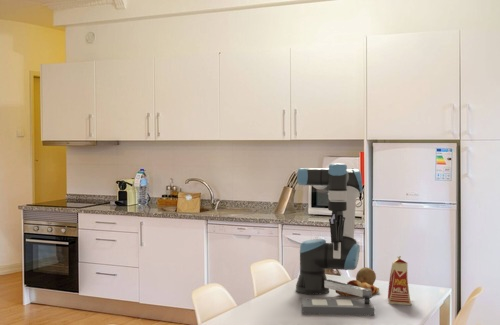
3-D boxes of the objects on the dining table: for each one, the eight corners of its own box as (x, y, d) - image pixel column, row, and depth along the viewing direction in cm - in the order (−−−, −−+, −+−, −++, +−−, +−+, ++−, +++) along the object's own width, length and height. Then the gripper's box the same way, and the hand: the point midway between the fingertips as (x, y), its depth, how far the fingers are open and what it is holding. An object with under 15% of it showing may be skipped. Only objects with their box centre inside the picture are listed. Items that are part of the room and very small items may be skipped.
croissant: (375, 299, 257) (372, 282, 260) (385, 293, 248) (381, 276, 252) (332, 301, 251) (329, 283, 254) (341, 296, 242) (338, 277, 246)
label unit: (301, 305, 233) (301, 293, 233) (369, 306, 232) (369, 294, 232) (302, 314, 221) (302, 301, 221) (374, 315, 220) (374, 302, 220)
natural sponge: (364, 292, 255) (364, 270, 255) (351, 287, 263) (352, 266, 263) (379, 289, 260) (379, 268, 260) (366, 285, 268) (367, 264, 267)
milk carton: (411, 305, 235) (411, 257, 234) (388, 303, 236) (388, 256, 236) (409, 299, 244) (410, 253, 243) (387, 298, 245) (388, 252, 245)
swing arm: (329, 286, 244) (329, 279, 244) (373, 297, 225) (373, 290, 225) (323, 287, 241) (323, 280, 241) (367, 299, 223) (367, 291, 223)
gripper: (334, 199, 239) (333, 255, 239) (323, 201, 228) (322, 259, 228) (351, 200, 235) (350, 256, 235) (340, 202, 224) (340, 261, 224)
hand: (336, 258), depth 231 cm, fingers closed
